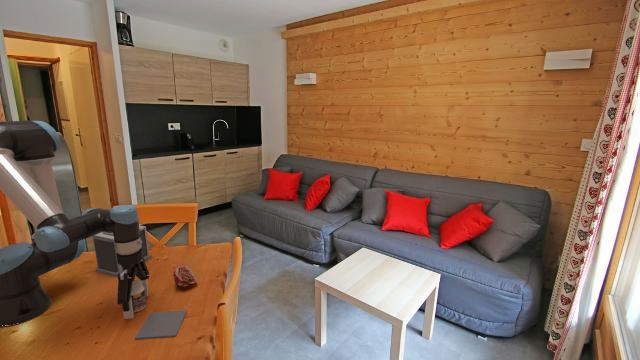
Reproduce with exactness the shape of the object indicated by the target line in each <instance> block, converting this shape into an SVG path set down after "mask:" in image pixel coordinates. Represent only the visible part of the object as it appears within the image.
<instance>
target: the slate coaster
mask: <svg viewBox="0 0 640 360" xmlns="http://www.w3.org/2000/svg"><path fill="white" fill-rule="evenodd" d="M187 312H188V310H186V309H185V310H183V309H182V310H173V311H172V310H171V311H169V310H168V311H156V312H155V311H154V312H153V311H152V312H150V313H149V315H148V316H147V318H146V319H145V320H144V323H143V324H142V326H141V327H140V329H139V330H138V332H137V334H136V335H135V337H134V340H135V341H136V340H149V339H161V338H163V339H164V338H175V337H177V335H178V333H179V331H180V329H181V325H182V323H183V322H184V320H185V317H186V314H187Z"/></svg>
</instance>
